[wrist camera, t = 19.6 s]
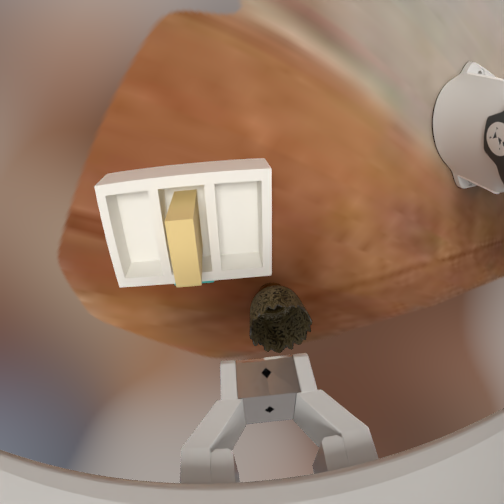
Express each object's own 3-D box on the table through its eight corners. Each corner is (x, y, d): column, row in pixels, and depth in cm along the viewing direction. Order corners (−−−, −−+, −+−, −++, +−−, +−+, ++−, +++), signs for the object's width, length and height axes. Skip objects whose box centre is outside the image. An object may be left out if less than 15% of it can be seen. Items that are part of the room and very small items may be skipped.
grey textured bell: (308, 287, 44) (324, 325, 37) (271, 319, 46) (281, 360, 39) (269, 258, 41) (282, 296, 34) (232, 295, 43) (236, 337, 36)
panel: (196, 189, 34) (193, 218, 27) (202, 245, 37) (201, 285, 30) (174, 191, 34) (164, 221, 27) (181, 247, 37) (176, 287, 30)
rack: (264, 158, 34) (271, 168, 30) (265, 258, 40) (271, 278, 37) (107, 173, 32) (94, 186, 29) (128, 270, 39) (120, 290, 35)
